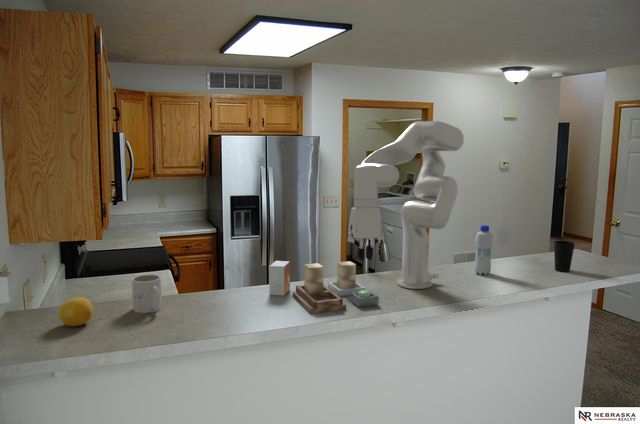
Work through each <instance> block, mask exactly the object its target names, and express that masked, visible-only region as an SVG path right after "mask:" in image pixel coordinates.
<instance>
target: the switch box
mask: <svg viewBox="0 0 640 424" xmlns="http://www.w3.org/2000/svg"><path fill="white" fill-rule="evenodd" d="M369 291H370V290H369ZM349 299H350V300H349V301H350V302H351V303H352V304H354V305H355V306H356V307H357V308H359V309H360V308H368V307H369V308H370V307H376V306H377V307H378V306H379V299H380V298H379V296H378V295H377V294H375V293H374V292H372V291H370V296H369V297H359V296H358V292H351V293H350V295H349Z"/></svg>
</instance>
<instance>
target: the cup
mask: <svg viewBox="0 0 640 424" xmlns="http://www.w3.org/2000/svg"><path fill="white" fill-rule="evenodd" d="M553 244H554V246H553V247H554V248H553V249H554V251H553V252H554V254H553V255H554V256H553V257H554V270H555V271H556V272H560V273H569V272H570V270H571V265H572V261H573V256H574V249H575V244H576V243H575V242H573V241H571V240H570V241H569V240H554V241H553Z"/></svg>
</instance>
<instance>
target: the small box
mask: <svg viewBox="0 0 640 424" xmlns="http://www.w3.org/2000/svg"><path fill="white" fill-rule="evenodd" d="M268 281H269V282H268V285H269V287H268V289H269V291H268V293H269V295H270V296H283V297H284V296H285V295H286V294H287V293H288V292H289V291H290V290H291V262H290V260H289V261H286V260H285V261H284V260H275V261H274V262H272V264H270V265H269V266H268Z"/></svg>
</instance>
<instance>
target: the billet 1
mask: <svg viewBox="0 0 640 424" xmlns="http://www.w3.org/2000/svg"><path fill="white" fill-rule="evenodd" d="M303 270H304V278H303V279H304V284H303V285H304V291H306V292H307V293H311V292H321V291H323V284H324V266H323V265H321V264H320V263H318V262H317V263H305V264H304V269H303Z"/></svg>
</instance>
